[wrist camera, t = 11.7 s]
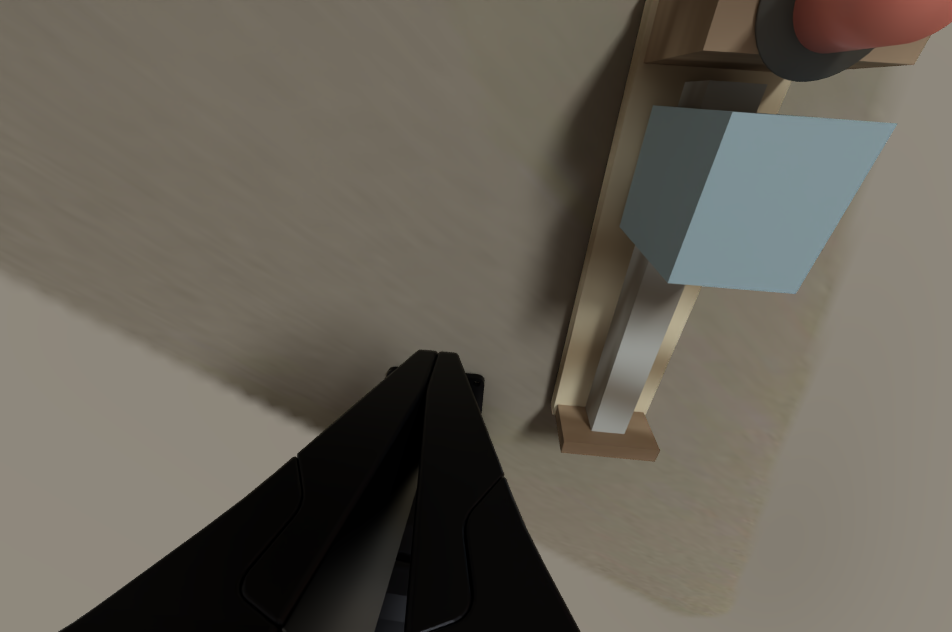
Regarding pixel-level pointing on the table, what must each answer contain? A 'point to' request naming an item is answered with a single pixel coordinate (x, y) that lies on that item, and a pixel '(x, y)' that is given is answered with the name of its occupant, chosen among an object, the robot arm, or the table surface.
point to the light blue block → (744, 193)
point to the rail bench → (609, 249)
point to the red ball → (867, 22)
